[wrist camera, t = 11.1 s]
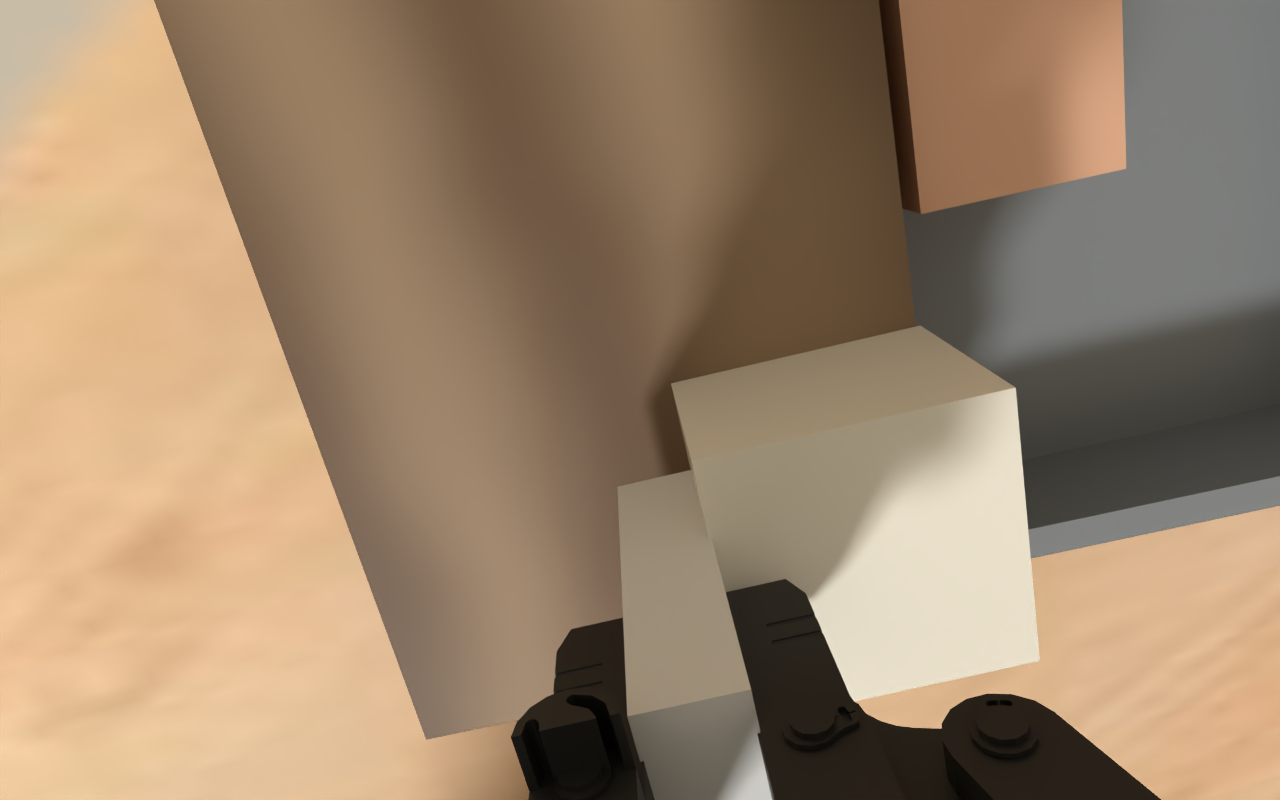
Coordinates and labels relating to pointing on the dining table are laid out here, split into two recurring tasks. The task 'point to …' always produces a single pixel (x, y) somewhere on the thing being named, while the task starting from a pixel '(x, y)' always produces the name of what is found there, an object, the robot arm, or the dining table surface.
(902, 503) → the cream block
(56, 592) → the dining table surface
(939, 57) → the salmon orange block
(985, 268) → the box
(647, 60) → the block
